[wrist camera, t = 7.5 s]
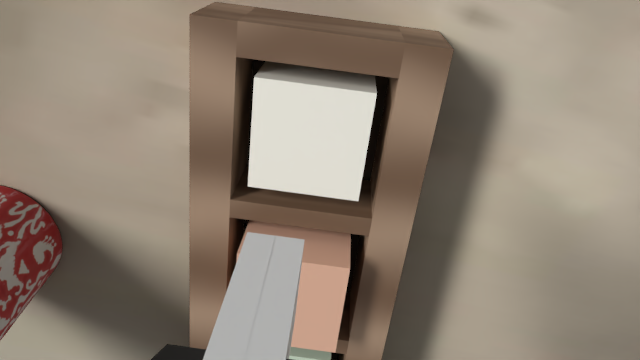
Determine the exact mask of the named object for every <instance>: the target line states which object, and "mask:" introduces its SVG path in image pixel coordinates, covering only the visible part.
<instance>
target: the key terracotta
mask: <svg viewBox="0 0 640 360" xmlns="http://www.w3.org/2000/svg"><path fill="white" fill-rule="evenodd" d="M247 232H251V233H259V234H267V235H274V236H282V237H289V238H297V239H305V241H304V249H303V257H302V265H301V273H300V282H299V290H298V298H297V306H296V314H295V322H294V329H293V335H292V342H291V347H297V348H304V349H311V350H319V351H326V352H333V353H335V352H336V347H337V341H338V335H339V329H340V324H341V318H342V312H343V307H344V301H345V295H346V290H347V284H348V278H349V273H350V255H351V234H350V233H342V232H335V231H327V230H320V229H313V228H305V227H298V226H290V225H283V224H275V223H268V222H261V221H253V220H249V222H248V225H247V228H246V230H245V233H244V236H243V238H242V241H241V244H240V246H239V249H238V252H237V260H238V257H239V254H240V251H241V249H242V246H243V243H244V240H245V237H246V234H247ZM236 263H237V261H236Z"/></svg>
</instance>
